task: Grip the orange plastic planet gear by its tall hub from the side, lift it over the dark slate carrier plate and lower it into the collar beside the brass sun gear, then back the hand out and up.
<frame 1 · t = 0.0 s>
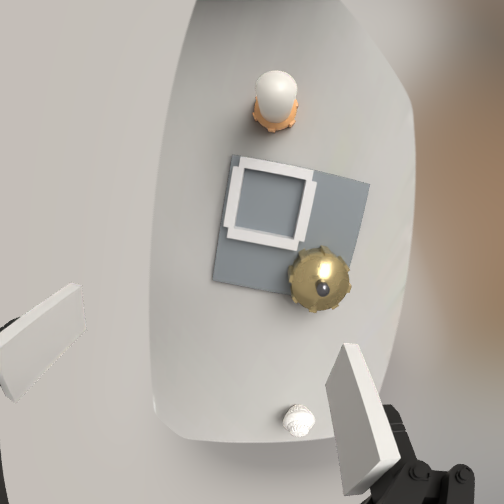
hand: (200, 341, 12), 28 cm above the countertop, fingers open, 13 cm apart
planet gear: (275, 111, 34), on the countertop
carrier plate: (289, 231, 39), on the countertop
muffin: (298, 408, 49), on the countertop
sun gear: (315, 271, 40), resting on carrier plate
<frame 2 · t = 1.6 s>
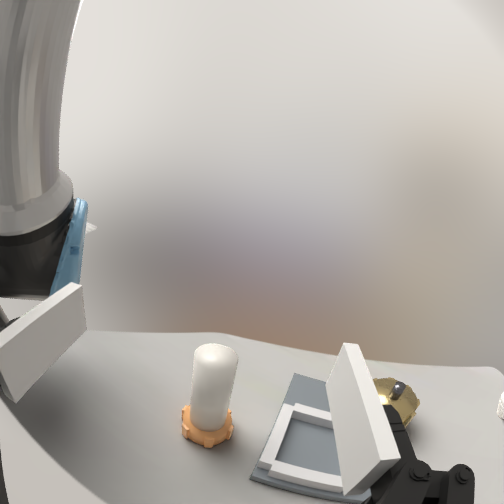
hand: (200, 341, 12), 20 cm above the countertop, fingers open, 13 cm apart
planet gear: (206, 427, 27), on the countertop
carrier plate: (342, 439, 28), on the countertop
muffin: (501, 415, 28), on the countertop
sun gear: (378, 420, 31), resting on carrier plate
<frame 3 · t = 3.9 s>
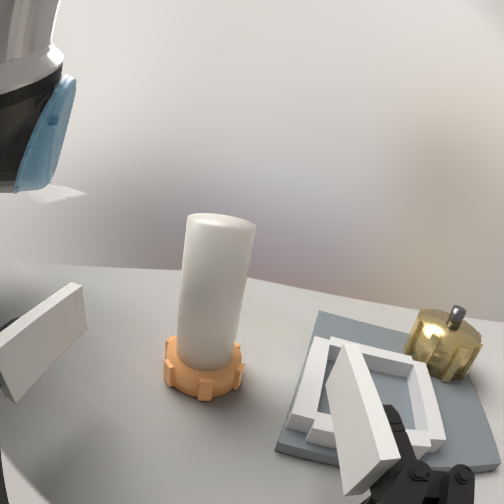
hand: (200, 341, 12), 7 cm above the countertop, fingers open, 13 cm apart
planet gear: (201, 372, 20), on the countertop
carrier plate: (397, 388, 20), on the countertop
sun gear: (431, 366, 23), resting on carrier plate
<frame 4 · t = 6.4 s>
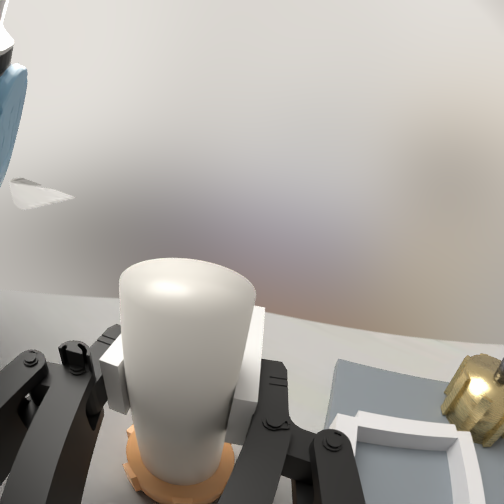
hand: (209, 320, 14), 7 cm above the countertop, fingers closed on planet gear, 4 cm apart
planet gear: (180, 468, 11), on the countertop, touching gripper
carrier plate: (434, 463, 12), on the countertop
sun gear: (469, 422, 15), resting on carrier plate
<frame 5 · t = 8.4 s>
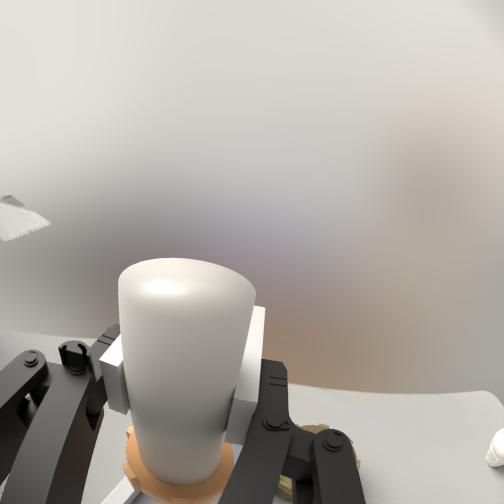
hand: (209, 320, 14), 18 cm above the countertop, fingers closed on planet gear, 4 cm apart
planet gear: (180, 469, 11), point 11 cm above the countertop, touching gripper
carrier plate: (236, 501, 17), on the countertop
muffin: (491, 460, 18), on the countertop
sun gear: (300, 478, 21), resting on carrier plate
when the fingers open (9 cm above the countertop, at t = 10.7 s): planet gear drops 1 cm, resting on carrier plate.
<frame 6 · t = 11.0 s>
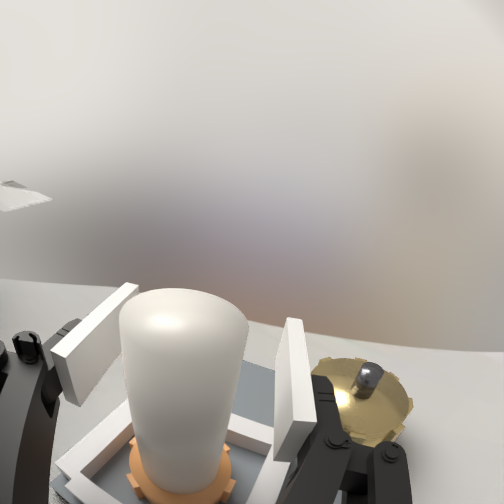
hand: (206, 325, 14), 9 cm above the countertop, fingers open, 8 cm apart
planet gear: (180, 477, 12), point 1 cm above the countertop, touching carrier plate
carrier plate: (254, 465, 14), on the countertop
sun gear: (335, 434, 18), resting on carrier plate
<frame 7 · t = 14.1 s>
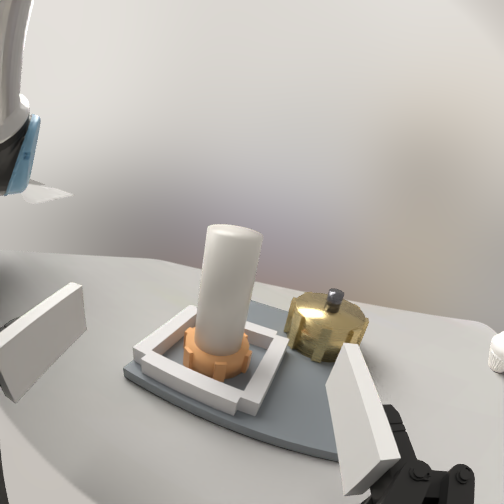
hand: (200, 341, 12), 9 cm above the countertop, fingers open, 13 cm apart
planet gear: (215, 358, 23), point 1 cm above the countertop, touching carrier plate
carrier plate: (262, 359, 26), on the countertop
muffin: (494, 368, 26), on the countertop
sun gear: (317, 348, 29), resting on carrier plate
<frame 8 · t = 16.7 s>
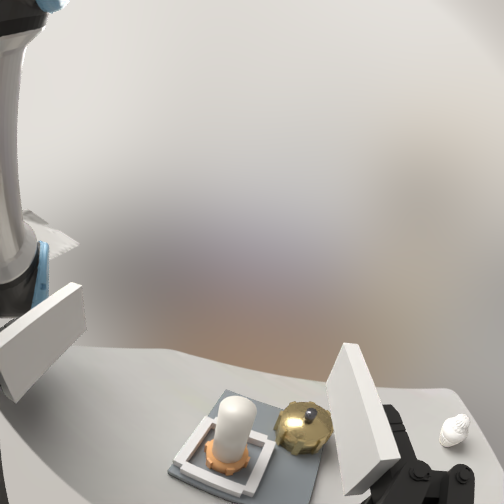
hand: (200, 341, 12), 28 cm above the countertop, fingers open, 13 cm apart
planet gear: (225, 458, 30), point 1 cm above the countertop, touching carrier plate
carrier plate: (257, 452, 32), on the countertop
muffin: (444, 442, 32), on the countertop
sun gear: (297, 438, 36), resting on carrier plate
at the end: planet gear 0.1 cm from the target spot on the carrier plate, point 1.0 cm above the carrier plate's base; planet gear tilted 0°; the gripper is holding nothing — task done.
